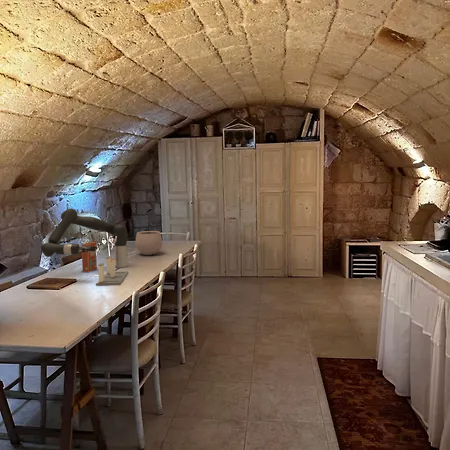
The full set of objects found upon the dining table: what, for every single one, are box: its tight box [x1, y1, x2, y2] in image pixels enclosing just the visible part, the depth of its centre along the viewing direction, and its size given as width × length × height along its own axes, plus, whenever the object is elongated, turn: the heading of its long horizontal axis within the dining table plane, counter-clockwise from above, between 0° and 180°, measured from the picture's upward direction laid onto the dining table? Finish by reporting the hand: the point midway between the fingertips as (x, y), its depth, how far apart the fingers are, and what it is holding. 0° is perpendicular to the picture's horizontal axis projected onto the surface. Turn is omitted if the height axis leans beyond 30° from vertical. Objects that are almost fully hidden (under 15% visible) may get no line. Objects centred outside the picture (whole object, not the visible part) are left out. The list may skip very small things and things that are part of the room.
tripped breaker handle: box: [110, 258, 116, 278], centre depth 301 cm, size 3×5×12 cm, turn 4°
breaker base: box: [95, 255, 129, 287], centre depth 301 cm, size 16×35×14 cm, turn 4°
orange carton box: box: [80, 241, 98, 273], centre depth 331 cm, size 21×7×15 cm
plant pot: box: [135, 223, 163, 256], centre depth 393 cm, size 24×24×30 cm
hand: (96, 248), depth 299 cm, fingers open, 5 cm apart
